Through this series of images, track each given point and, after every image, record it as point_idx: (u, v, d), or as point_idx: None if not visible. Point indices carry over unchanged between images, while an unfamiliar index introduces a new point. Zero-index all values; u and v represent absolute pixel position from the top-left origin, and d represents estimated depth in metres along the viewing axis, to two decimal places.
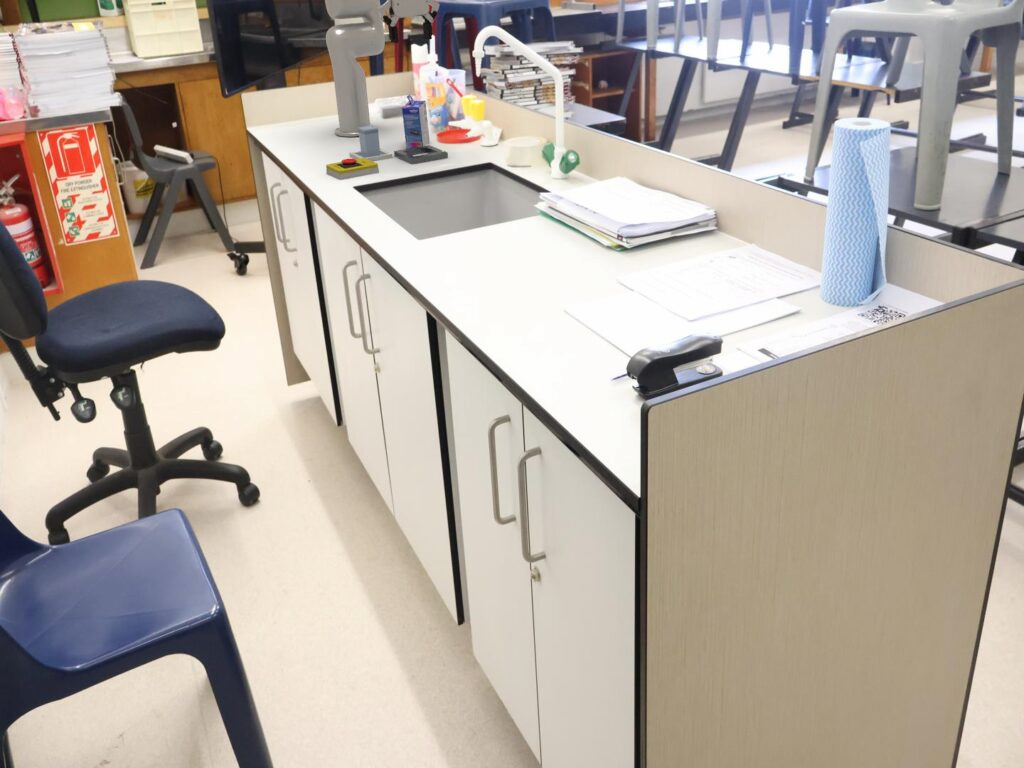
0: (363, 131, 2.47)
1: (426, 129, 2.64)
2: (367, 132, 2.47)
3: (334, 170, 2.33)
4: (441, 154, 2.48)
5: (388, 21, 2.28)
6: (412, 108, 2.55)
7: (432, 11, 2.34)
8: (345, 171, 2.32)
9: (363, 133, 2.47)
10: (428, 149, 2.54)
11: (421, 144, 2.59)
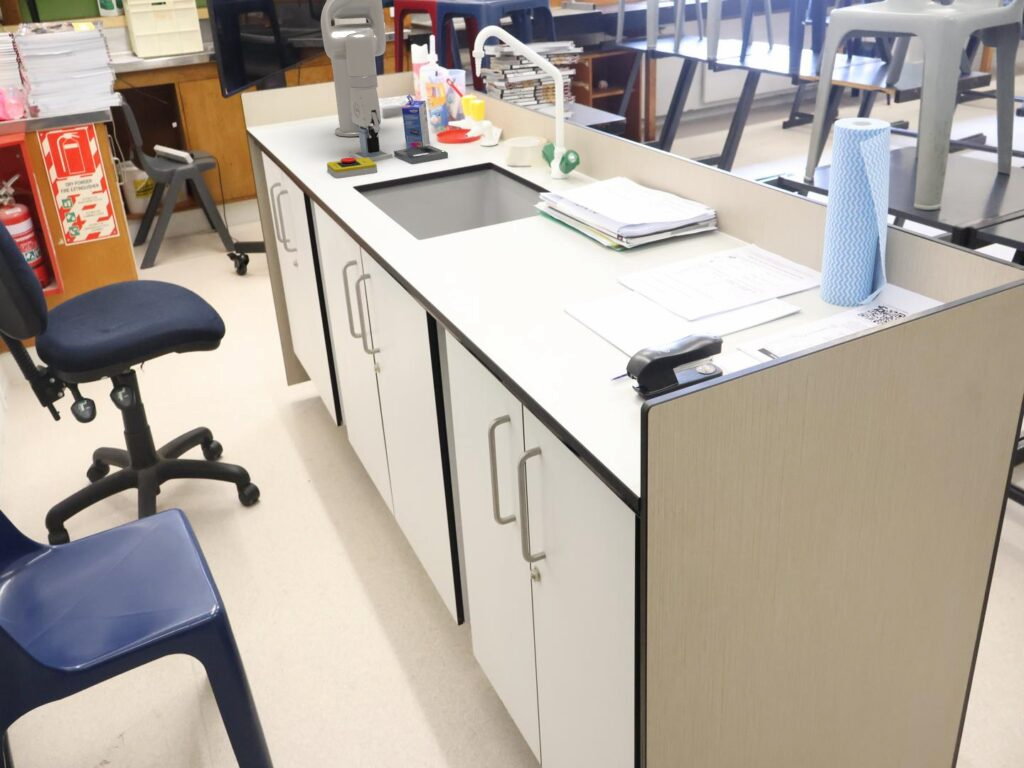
0: (363, 131, 2.47)
1: (426, 129, 2.64)
2: None
3: (332, 169, 2.35)
4: (441, 154, 2.48)
5: None
6: (412, 108, 2.55)
7: None
8: (341, 170, 2.33)
9: (363, 133, 2.47)
10: (428, 149, 2.54)
11: (421, 144, 2.59)
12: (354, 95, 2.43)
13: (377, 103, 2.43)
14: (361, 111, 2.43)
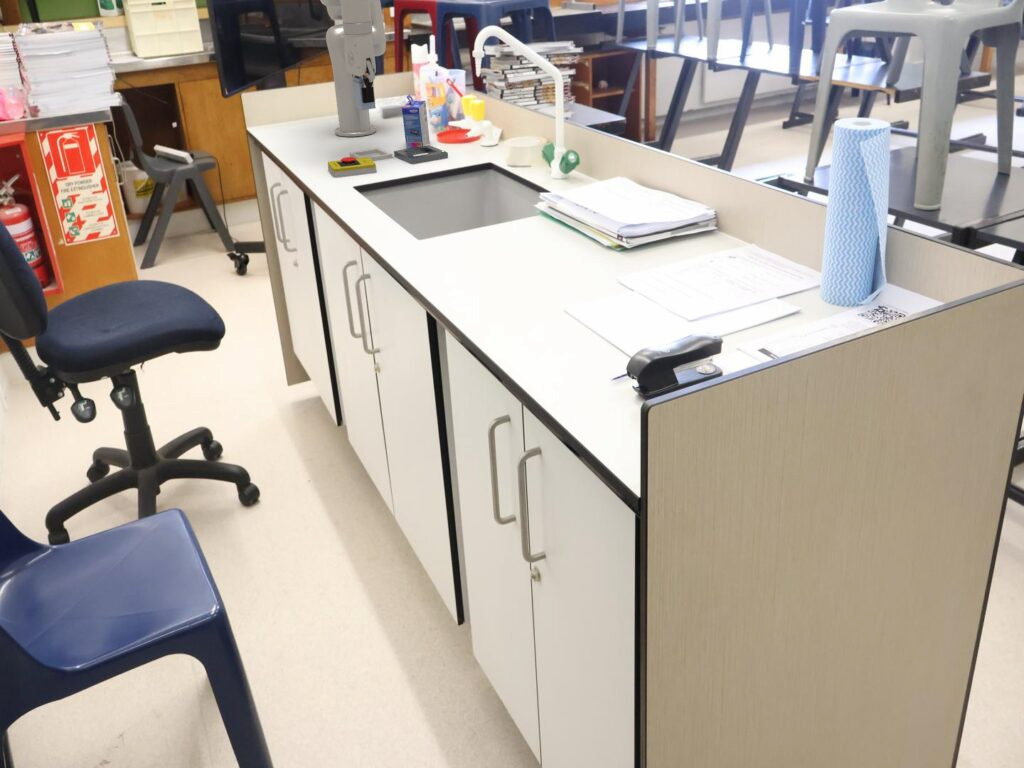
0: (358, 80, 2.41)
1: (426, 129, 2.64)
2: None
3: (331, 168, 2.36)
4: (441, 154, 2.48)
5: None
6: (412, 108, 2.55)
7: None
8: (339, 169, 2.34)
9: (357, 82, 2.41)
10: (428, 149, 2.54)
11: (421, 144, 2.59)
12: (349, 42, 2.37)
13: (372, 51, 2.36)
14: (355, 59, 2.37)
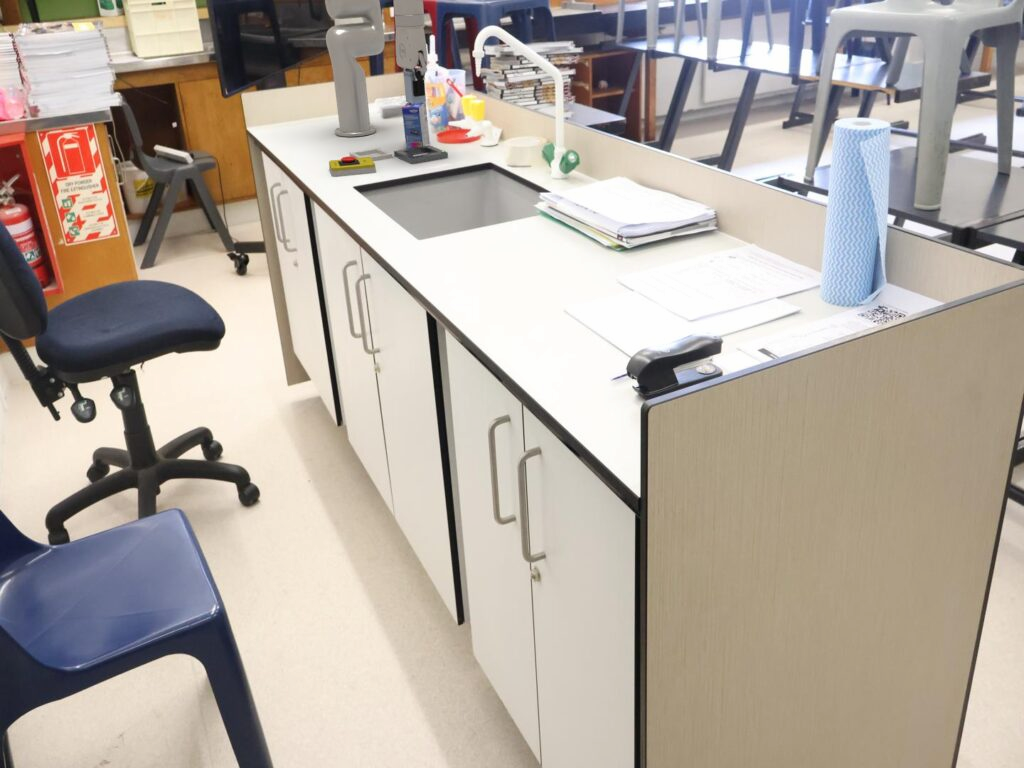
0: (409, 73, 2.38)
1: (426, 129, 2.64)
2: None
3: (331, 167, 2.37)
4: (441, 154, 2.48)
5: None
6: (412, 108, 2.55)
7: None
8: (338, 169, 2.34)
9: (408, 75, 2.39)
10: (428, 149, 2.54)
11: (421, 144, 2.59)
12: (401, 35, 2.35)
13: (424, 43, 2.34)
14: (407, 52, 2.34)
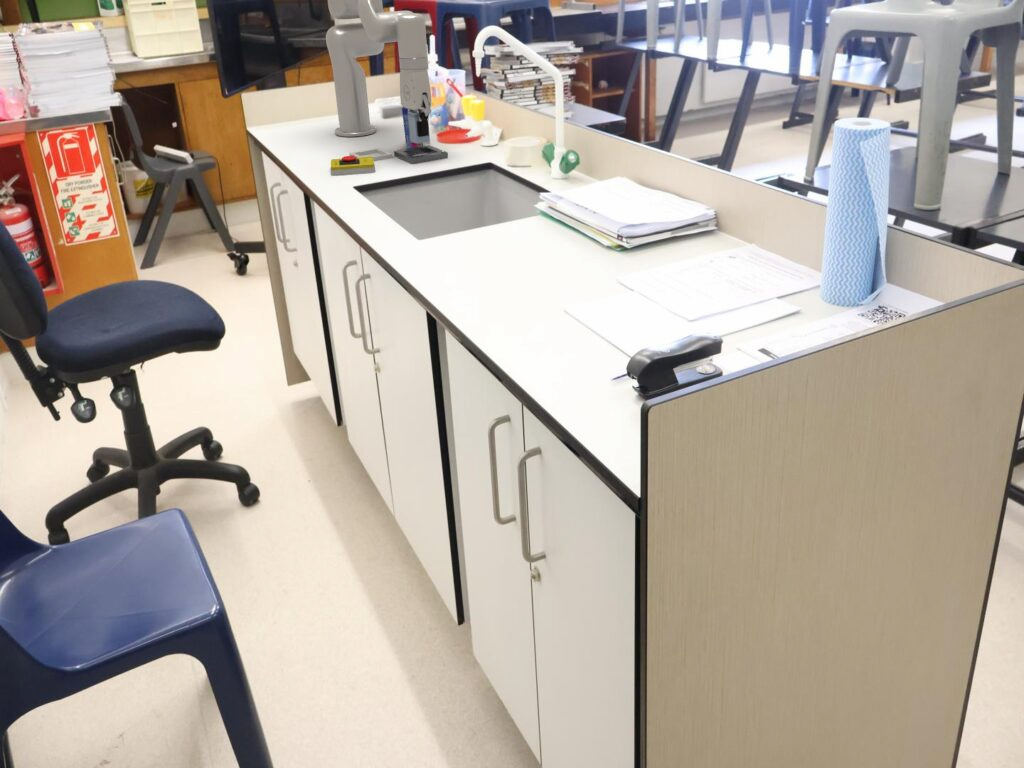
0: (413, 114, 2.43)
1: None
2: None
3: None
4: (441, 154, 2.48)
5: None
6: None
7: None
8: (337, 168, 2.35)
9: (413, 116, 2.43)
10: (428, 149, 2.54)
11: (421, 144, 2.59)
12: (405, 77, 2.39)
13: (428, 85, 2.39)
14: (412, 94, 2.39)
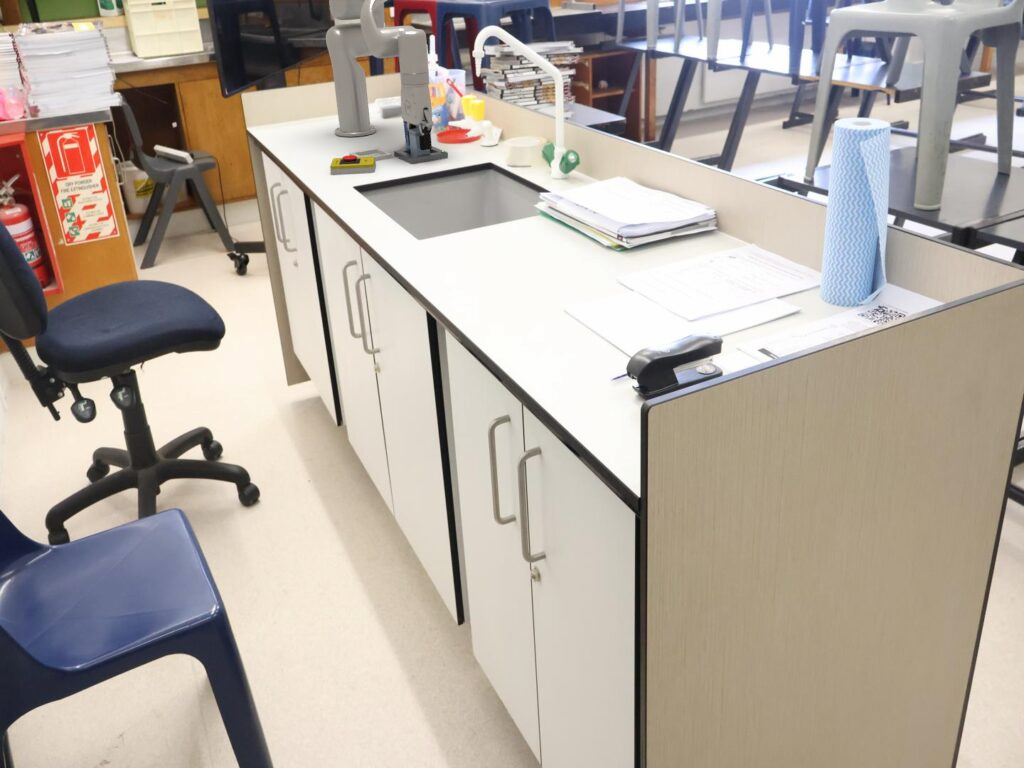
0: (414, 133, 2.45)
1: None
2: (418, 134, 2.46)
3: (331, 165, 2.39)
4: (441, 154, 2.48)
5: None
6: None
7: None
8: (336, 167, 2.36)
9: (414, 135, 2.46)
10: None
11: None
12: (406, 92, 2.41)
13: (429, 100, 2.40)
14: (413, 108, 2.41)
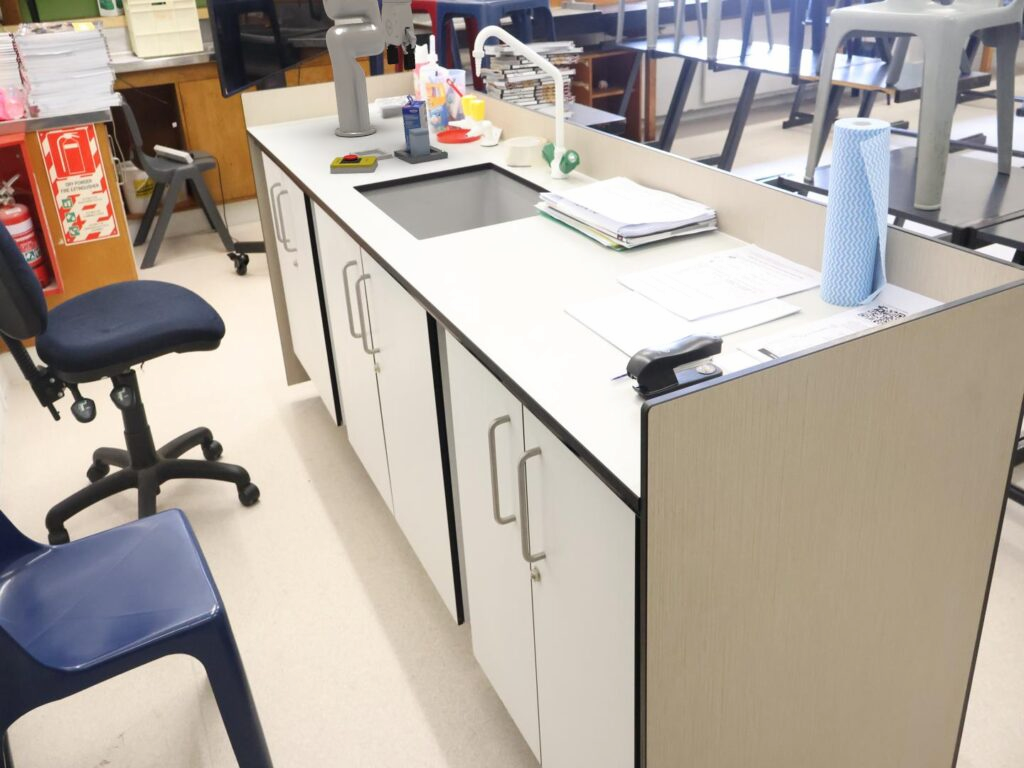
0: (414, 133, 2.46)
1: None
2: (418, 134, 2.46)
3: None
4: (441, 154, 2.48)
5: None
6: (412, 108, 2.55)
7: None
8: (335, 166, 2.37)
9: (414, 135, 2.46)
10: None
11: None
12: (387, 11, 2.34)
13: (411, 20, 2.33)
14: (394, 28, 2.33)
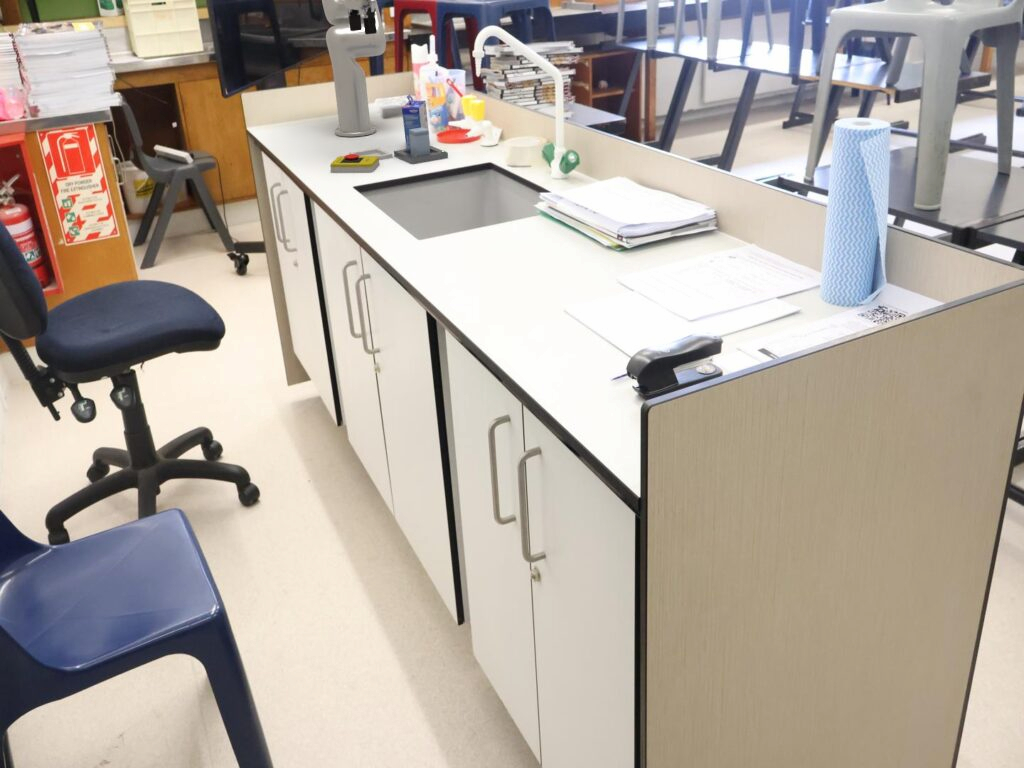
0: (414, 133, 2.46)
1: None
2: (418, 134, 2.46)
3: None
4: (441, 154, 2.48)
5: None
6: (412, 108, 2.55)
7: None
8: (335, 165, 2.38)
9: (414, 135, 2.46)
10: None
11: None
12: None
13: None
14: None
